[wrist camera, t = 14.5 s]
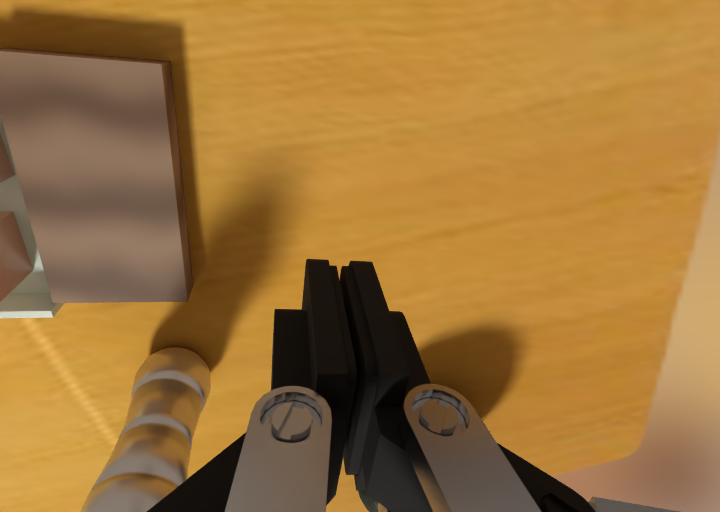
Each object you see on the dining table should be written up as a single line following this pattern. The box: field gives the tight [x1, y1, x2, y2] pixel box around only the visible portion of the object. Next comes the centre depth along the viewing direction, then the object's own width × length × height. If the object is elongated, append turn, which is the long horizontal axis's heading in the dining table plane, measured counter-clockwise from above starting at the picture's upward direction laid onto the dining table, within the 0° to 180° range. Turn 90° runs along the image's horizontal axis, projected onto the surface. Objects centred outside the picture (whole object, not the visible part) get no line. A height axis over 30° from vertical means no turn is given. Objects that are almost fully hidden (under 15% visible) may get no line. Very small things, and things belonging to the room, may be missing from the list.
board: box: [0, 48, 193, 303], centre depth 32 cm, size 18×10×2 cm, turn 175°
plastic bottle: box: [81, 347, 211, 512], centre depth 33 cm, size 6×7×20 cm
